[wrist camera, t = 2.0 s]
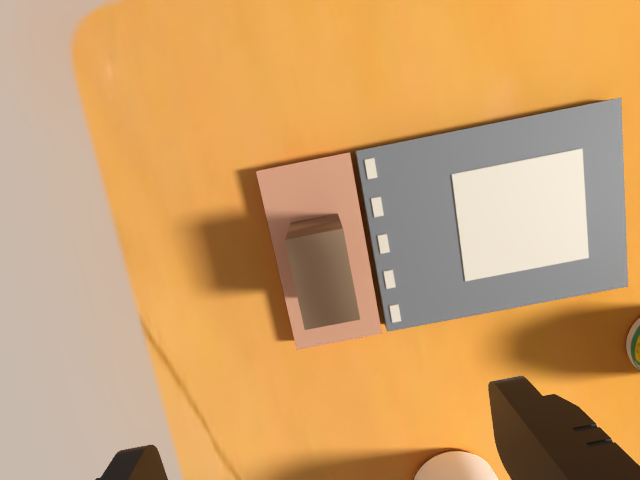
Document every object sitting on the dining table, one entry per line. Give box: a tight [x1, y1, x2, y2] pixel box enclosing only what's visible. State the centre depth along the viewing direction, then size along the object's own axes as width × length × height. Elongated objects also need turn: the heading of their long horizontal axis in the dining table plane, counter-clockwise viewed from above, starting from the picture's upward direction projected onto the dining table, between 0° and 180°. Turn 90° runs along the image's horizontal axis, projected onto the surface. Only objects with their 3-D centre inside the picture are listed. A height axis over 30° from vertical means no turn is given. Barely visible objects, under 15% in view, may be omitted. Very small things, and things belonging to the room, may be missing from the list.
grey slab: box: [354, 98, 628, 331], centre depth 26 cm, size 16×12×1 cm
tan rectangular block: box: [256, 152, 382, 349], centre depth 24 cm, size 6×12×6 cm, turn 11°
